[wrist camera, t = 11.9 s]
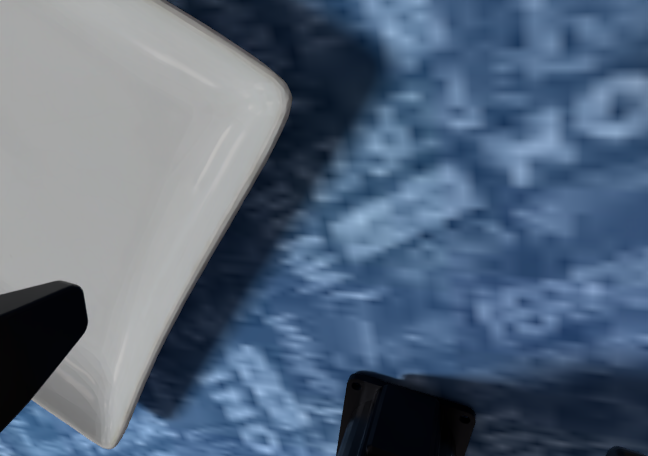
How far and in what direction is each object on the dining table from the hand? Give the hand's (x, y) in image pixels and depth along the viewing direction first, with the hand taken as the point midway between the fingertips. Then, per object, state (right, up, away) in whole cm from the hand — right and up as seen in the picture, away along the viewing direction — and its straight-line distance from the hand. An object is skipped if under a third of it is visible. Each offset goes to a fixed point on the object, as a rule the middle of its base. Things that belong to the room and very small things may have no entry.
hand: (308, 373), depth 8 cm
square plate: (-17, +7, +19) cm, 26 cm away
